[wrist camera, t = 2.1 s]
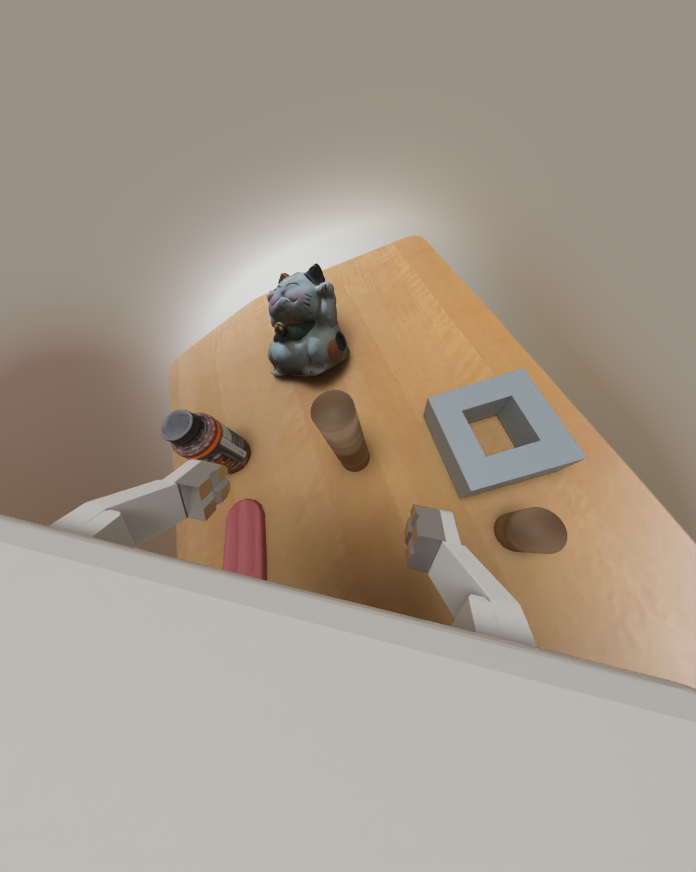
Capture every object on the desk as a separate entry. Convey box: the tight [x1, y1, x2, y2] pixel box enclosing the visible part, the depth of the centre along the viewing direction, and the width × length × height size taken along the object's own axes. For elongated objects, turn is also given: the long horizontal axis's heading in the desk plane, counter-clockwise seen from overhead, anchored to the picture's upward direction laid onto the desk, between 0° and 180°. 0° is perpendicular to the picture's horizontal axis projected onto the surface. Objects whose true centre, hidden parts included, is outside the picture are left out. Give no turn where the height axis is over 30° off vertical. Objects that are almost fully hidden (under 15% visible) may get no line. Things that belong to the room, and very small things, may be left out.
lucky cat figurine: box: [267, 264, 350, 377], centre depth 39 cm, size 15×12×14 cm
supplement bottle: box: [161, 409, 250, 473], centre depth 33 cm, size 6×6×11 cm
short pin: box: [494, 507, 567, 554], centre depth 26 cm, size 4×4×6 cm
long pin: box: [311, 390, 369, 472], centre depth 29 cm, size 4×4×14 cm
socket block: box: [424, 368, 587, 499], centre depth 30 cm, size 12×12×5 cm
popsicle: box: [223, 499, 267, 581], centre depth 32 cm, size 5×2×15 cm
